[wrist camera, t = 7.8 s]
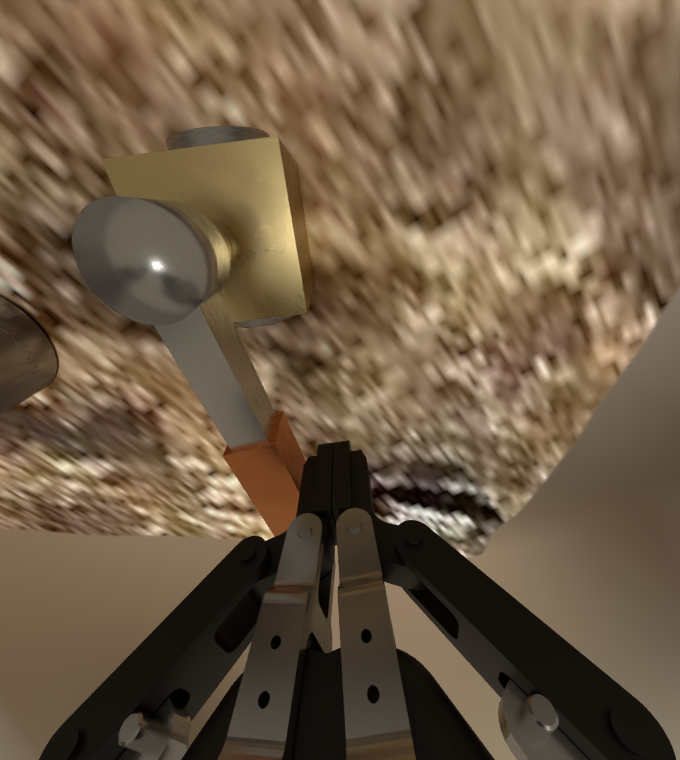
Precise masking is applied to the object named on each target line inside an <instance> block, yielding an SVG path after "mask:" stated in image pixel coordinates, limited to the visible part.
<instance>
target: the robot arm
mask: <svg viewBox="0 0 680 760" xmlns="http://www.w3.org/2000/svg"><path fill="white" fill-rule="evenodd" d="M56 371H57V359H56V356H55V353H54V350H53V347H52V345H51V344H50V342H49V340H48V338H47V337H46V335H45V334H44V333H43V331H42V330H41V329H40V328H39V326H38V325H37V324H36V323H35V322H34V321H33V320H32V319H31V318H30V317H29V316H27V315H26V314H25V313H24V312H23V311H21V310H20V309H19V308H17V307H16V306H15V305H13V304H12V303H11V302H9V301H7V300H5V299H4V298H2V297H0V415H1V414H3V413H4V412H6V411H7V410H9V409H11V408H12V407H14V406H16V405H17V404H19V403H21V402H22V401H24V400H26V399H27V398H29V397H31V396H32V395H34V394H36V393H37V392H39V391H41V390H42V389H44V388H45V387H47V386H48V385H50V383H51V382H52V381H53V379H54V378H55V375H56ZM335 545H337V549H338V564H339V579H340V580H339V581H340V584H339V586H338V610H339V627H340V645H341V648H339V649H337V650H334V651H332V630H331V614H332V602H333V590H334V578H335V577H334V576H335V560H334V559H335ZM384 582H387V583H391V584H394V585H397V586H400V587H402V588H403V590H404V591H405V592H406V593H407V594H408V595H409V597H410V598H411V599H412V600H413V601H414V602H415V603H416V604H417V605H418V607H419V608H420V609H421V610H422V611H423V612H424V613H425V614H426V615H427V617H428V618H429V619H430V620H431V621H432V622H433V623H434V624H435V625H436V626H437V628H438V629H439V630H440V631H441V632H442V633H443V634H444V635H445V636H446V638H447V639H448V640H449V641H450V642H451V643H452V644H453V645H454V646H455V647H456V648H457V650H458V651H459V652H460V653H461V654H462V655H463V656H464V657H465V659H466V660H467V661H468V662H469V663H470V664H471V665H472V666H473V667H474V669H475V670H476V671H477V672H478V673H479V674H480V675H481V676H482V677H483V678H484V679H485V681H486V682H487V683H488V684H489V685H490V686H491V687H492V688H493V689H494V691H495V692H496V693H497V694H498V695H499V696H500V697H501V700H500V703H499V708H498V718H499V724H500V728H501V731H502V734H503V737H504V739H505V741H506V743H507V745H508V747H509V749H510V750H511V752H512V753H513V754H514V756H515V757H516V759H517V760H676V757H675V754H674V751H673V748H672V746H671V743H670V741H669V739H668V737H667V735H666V734H665V732H664V730H663V729H662V727H661V726H660V724H659V723H658V721H657V720H656V719H655V718H654V717H653V715H652V714H651V713H650V712H649V711H648V710H647V709H646V707H645V706H643V704H641V703H640V702H639V701H638V700H637V699H636V698H634V697H633V696H632V695H631V694H630V693H628V692H627V691H626V690H625V689H624V688H622V687H621V686H620V685H619V684H618V683H616V682H615V681H614V680H613V679H612V678H610V677H609V676H608V675H607V674H605V673H604V672H603V671H602V670H601V669H599V668H598V667H597V666H596V665H595V664H593V663H592V662H591V661H590V660H589V659H587V658H586V657H585V656H584V655H582V654H581V653H580V652H579V651H578V650H576V649H575V648H574V647H573V646H572V645H570V644H569V643H568V642H567V641H566V640H564V639H563V638H562V637H561V636H559V635H558V634H557V633H556V632H555V631H553V630H552V629H551V628H550V627H549V626H547V625H546V624H545V623H544V622H542V621H541V620H540V619H539V618H538V617H536V616H535V615H534V614H533V613H531V612H530V611H529V610H528V609H527V608H526V607H524V606H523V605H522V604H521V603H520V602H518V601H517V600H516V599H515V598H513V597H512V596H511V595H510V594H509V593H507V592H506V591H505V590H504V589H503V588H501V587H500V586H499V585H498V584H496V583H495V582H494V581H493V580H492V579H490V578H489V577H488V576H487V575H486V574H484V573H483V572H482V571H481V570H480V569H478V568H477V567H476V566H475V565H474V564H472V563H471V562H470V561H469V560H467V559H466V558H465V557H464V556H463V555H461V554H460V553H459V552H458V551H457V550H455V549H454V548H453V547H452V546H450V545H449V544H448V543H447V542H446V541H444V540H443V539H442V538H441V537H440V536H438V535H437V534H436V533H435V532H434V531H432V530H431V529H430V528H429V527H427V526H426V525H425V524H423V523H421V522H419V521H415V520H408V521H404V522H402V523H401V524H399V525H394V524H389V523H386V522H384V521H382V520H380V519H379V518H378V517H377V516H376V515H375V514H374V509H373V500H372V491H371V482H370V475H369V470H368V465H367V459H366V457H365V455H364V454H363V452H362V451H361V450H358V451H351V446H350V442H349V440H348V441H341V442H334V443H326V444H319V445H318V452H317V456H312V457H309V458H308V459H307V461H306V463H305V464H304V466H303V473H302V480H301V487H300V493H299V500H298V507H297V514H296V518H295V519H294V520H293V521H292V522H291V523H290V525H289V527H288V529H287V530H286V531H285V532H284V533H282V534H280V535H278V536H276V537H273V538H271V539H269V540H267V541H265V540H264V539H263V538H261V537H259V536H250V537H248V538H245V539H244V540H242V541H241V542H240V543H239V544H238V545H237V546H236V547H235V548H234V549H233V550H232V551H231V552H230V553H229V554H228V555H227V556H226V557H225V558H224V559H223V560H222V561H221V562H220V563H219V564H218V565H217V566H216V567H215V568H214V569H213V570H212V571H211V572H210V573H209V574H208V575H207V576H206V578H204V579H203V581H202V582H201V583H200V584H199V585H198V586H197V587H196V588H195V589H194V590H193V591H192V592H191V593H190V594H189V595H188V596H187V597H186V598H185V599H184V600H183V601H182V602H181V603H180V604H179V605H178V606H177V607H176V608H175V609H174V610H173V611H172V612H171V613H170V614H169V616H168V617H166V618H165V620H164V621H163V622H162V623H161V624H160V625H159V626H158V627H157V628H156V629H155V630H154V631H153V632H152V633H151V634H150V635H149V636H148V637H147V638H146V639H145V640H144V641H143V642H142V643H141V644H140V645H139V646H138V647H137V648H136V649H135V650H134V651H133V652H132V653H131V654H130V656H128V657H127V659H126V660H125V661H124V662H123V663H122V664H121V665H120V666H119V667H118V668H117V669H116V670H115V671H114V672H113V673H112V674H111V675H110V676H109V677H108V678H107V679H106V680H105V681H104V682H103V683H102V684H101V685H100V686H99V687H98V689H96V690H95V691H94V693H92V694H91V696H90V697H89V698H88V699H87V700H86V701H85V702H84V703H83V704H82V705H81V706H80V707H79V708H78V709H77V710H76V711H75V712H74V713H73V714H72V715H71V716H70V717H69V718H68V719H67V720H66V721H65V722H64V723H63V724H62V726H61V727H60V728H59V729H58V730H57V731H56V733H55V734H54V735H53V736H52V738H51V739H50V741H49V742H48V744H47V746H46V747H45V749H44V751H43V753H42V755H41V757H40V759H39V760H495V759H494V758H493V757H492V755H491V754H490V753H489V752H488V750H487V749H486V747H485V746H484V745H483V743H482V742H481V741H480V739H479V738H478V737H477V735H476V734H475V732H474V731H473V730H472V729H471V727H470V726H469V724H468V723H467V722H466V720H465V719H464V718H463V716H462V715H461V714H460V712H459V711H458V710H457V708H456V707H455V706H454V704H453V703H452V702H451V700H450V699H449V698H448V696H447V695H446V694H445V692H444V691H443V689H442V688H441V687H440V685H439V684H438V683H437V681H436V680H435V679H434V677H433V676H432V675H431V673H430V672H429V671H428V670H427V669H426V668H425V667H424V666H423V665H422V664H421V663H420V662H419V661H417V660H416V659H415V658H414V657H412V656H411V655H409V654H408V653H406V652H404V651H402V650H400V649H397V648H396V643H395V638H394V633H393V627H392V622H391V617H390V612H389V606H388V601H387V596H386V590H385V585H384ZM251 641H252V642H251ZM250 642H251V646H250V650H249V654H248V658H247V662H246V665H245V669H244V672H243V673H242V674H241V675H240V676H239V677H238V679H237V680H236V681H235V682H234V683H233V685H232V686H231V688H230V689H229V690H228V692H227V693H226V695H225V696H224V698H223V699H222V701H221V702H220V704H219V705H218V706H217V708H216V710H215V711H214V712H213V714H212V715H211V717H210V718H209V719H208V721H207V722H206V724H205V726H204V727H203V728H202V730H201V731H200V733H199V734H198V736H197V737H196V739H195V740H194V741H193V743H192V744H191V746H190V747H189V749H188V745H189V737H190V732H191V721H192V720H193V718H194V717H195V716H196V714H197V713H198V712H199V710H200V709H201V708H202V706H203V705H204V704H205V702H206V701H207V699H208V698H209V697H210V696H211V694H212V693H213V692H214V690H215V689H216V688H217V686H218V685H219V683H220V682H221V681H222V680H223V678H224V677H225V676H226V674H227V673H228V672H229V670H230V669H231V668H232V666H233V665H234V664H235V662H236V661H237V660H238V658H239V657H240V656H241V654H242V653H243V652H244V650H245V649H246V648H247V646H248V645H249V644H250ZM187 749H188V750H187ZM186 751H187V752H186Z"/></svg>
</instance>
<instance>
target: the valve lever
mask: <svg viewBox="0 0 680 760" xmlns="http://www.w3.org/2000/svg"><path fill="white" fill-rule="evenodd" d="M72 247H73V253H74V257H75V260H76V263H77V266H78V268H79V270H80V272H81V274H82V276H83V278H84V279H85V281H86V282H87V284H88V285H89V287H90V288H91V289H92V291H93V292H94V293H95V294H96V295H97V296H98V297H99V298H100V299H101V300H102V301H103V302H104V303H105V304H107V305H108V306H109V307H110V308H112V309H113V310H115V311H116V312H118V313H119V314H121V315H123V316H125V317H127V318H129V319H131V320H134V321H137V322H140V323H143V324H149V325H154V327H155V328H156V330H157V332H158V333H159V335H160V336H161V338H162V340H163V341H164V343H165V344H166V346H167V348H168V349H169V351H170V353H171V354H172V356H173V357H174V359H175V361H176V362H177V364H178V365H179V367H180V369H181V370H182V372H183V374H184V375H185V377H186V378H187V380H188V382H189V383H190V385H191V387H192V388H193V390H194V391H195V393H196V395H197V396H198V398H199V399H200V401H201V403H202V404H203V406H204V408H205V409H206V411H207V412H208V414H209V416H210V417H211V419H212V420H213V422H214V424H215V425H216V427H217V429H218V430H219V432H220V433H221V435H222V437H223V438H224V440H225V442H226V443H227V447H226V450H225V452H224V454H223V457H224V459H225V460H226V462H227V463H228V465H229V466H230V468H231V470H232V471H233V473H234V474H235V476H236V477H237V479H238V480H239V482H240V483H241V485H242V487H243V488H244V490H245V491H246V493H247V494H248V496H249V497H250V499H251V500H252V502H253V504H254V505H255V507H256V508H257V510H258V511H259V513H260V514H261V516H262V517H263V519H264V520H265V522H266V524H267V525H268V527H269V528H270V530H271V531H272V533H273V534H274V536H275V537H276V536H278V535H280V534H282V533H284V532H285V531H286V530H287V529H288V527H289V525H290V523H291V522H292V521H293V520H294V519H295V518H296V514H297V507H298V500H299V493H300V487H301V480H302V473H303V466H304V464H305V463H306V461H305V459H304V456H303V454H302V452H301V450H300V447H299V445H298V443H297V441H296V438H295V436H294V434H293V432H292V429H291V427H290V425H289V423H288V420H287V418H286V416H285V414H284V411H280V412H276V413H275V411H274V409H273V407H272V405H271V402H270V400H269V398H268V396H267V394H266V392H265V390H264V387H263V385H262V383H261V381H260V379H259V377H258V375H257V372H256V370H255V368H254V366H253V364H252V362H251V360H250V357H249V355H248V353H247V351H246V349H245V347H244V345H243V342H242V340H241V338H240V336H239V334H238V332H237V330H236V327H235V325H234V323H233V321H232V319H231V317H230V315H229V312H228V310H227V308H226V306H225V304H224V302H223V300H222V297H221V295H220V292H221V291H222V290H223V288H224V287H225V285H226V283H227V281H228V278H229V274H230V256H229V252H228V248H227V245H226V243H225V241H224V239H223V236H222V235H221V233H220V232H219V230H218V229H217V227H216V226H215V225H214V224H213V223H212V222H211V221H210V219H209V218H207V217H206V216H205V215H204V214H203V213H201V212H200V211H198V210H197V209H195V208H193V207H191V206H189V205H186V204H184V203H180V202H176V201H166V200H155V199H145V198H134V197H124V196H107V197H103V198H99V199H97V200H95V201H92V202H91V203H89V204H88V205H87V206H85V207H84V208H83V210H82V211H81V212H80V213H79V215H78V217H77V218H76V221H75V223H74V227H73V232H72Z"/></svg>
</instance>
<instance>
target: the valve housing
mask: <svg viewBox="0 0 680 760" xmlns="http://www.w3.org/2000/svg"><path fill="white" fill-rule="evenodd" d="M166 144H167V147H168V150H167V151H159V152H152V153H144V154H136V155H129V156H121V157H113V158H106V159H101V160H102V162H103V165H104V167H105V169H106V172H107V174H108V176H109V179H110V181H111V183H112V186H113V188H114V191H115V193H116V195H117V196H124V197H134V198H145V199H155V200H166V201H176V202H180V203H184V204H186V205H189V206H191V207H193V208H195V209H197V210H198V211H200V212H201V213H203V214H204V215H205V216H206V217H207V218H209V219H210V221H211V222H212V223H213V224H214V225H215V226H216V227H217V229H218V230H219V232H220V233H221V235H222V236H223V239H224V241H225V243H226V245H227V248H228V252H229V256H230V274H229V278H228V281H227V283H226V285H225V287H224V288H223V290H222V291H221V292H220V295H221V297H222V300H223V302H224V304H225V306H226V308H227V310H228V312H229V315H230V317H231V319H232V321H233V323H234V325H235V327H256V326H262V325H268V324H272V323H276V322H279V321H282V320H285V319H288V318H290V317H292V316H294V315H301V314H308V310H309V305H310V301H311V297H312V293H313V289H314V279H313V272H312V265H311V258H310V251H309V245H308V238H307V231H306V224H305V217H304V210H303V204H302V197H301V190H300V183H299V176H298V169H297V164H296V163H295V161H294V160H293V158H292V157H291V155H290V154H289V152H288V151H287V149H286V148H285V146H284V145H283V143H282V142H281V140H280V138H279V137H278V136H273V137H269V135H268V134H267V133H266V132H264V131H261V130H258V129H254V128H248V127H237V126H215V127H203V128H196V129H190V130H186V131H182V132H179V133H176V134H174V135H171V136H170V137H168V138H167V140H166Z"/></svg>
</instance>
